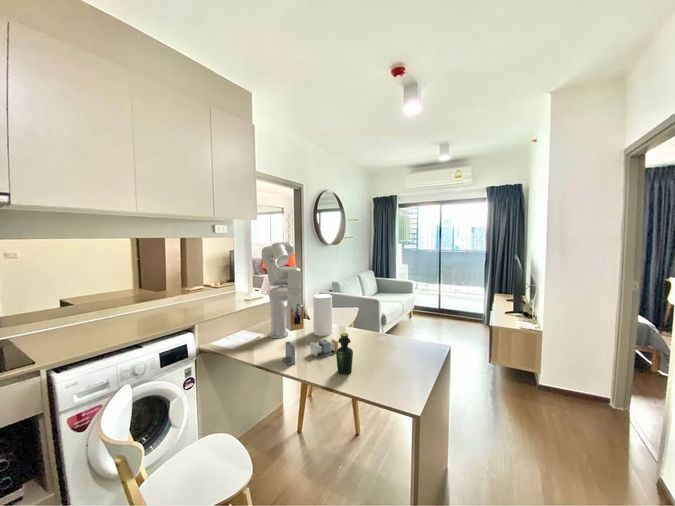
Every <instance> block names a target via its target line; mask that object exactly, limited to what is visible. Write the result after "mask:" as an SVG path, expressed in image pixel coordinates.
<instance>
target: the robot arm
mask: <svg viewBox="0 0 675 506" xmlns="http://www.w3.org/2000/svg"><path fill="white" fill-rule="evenodd" d="M294 249H295V248H294V245H293V244H292V243H291V242H289V241H288V242H287V241H286V242H284V241H283V242H282V241H281V242H280V241H279V242H274V243H272V244H271V245H269V246H268V245H267V246H265V247H262V249H261V259H262V261H263V264H264V266H265V268H266V273H267V274H266V275H267V278H268V283H269V285H270V286H271V287H273V288H270V290H269V291H268V297H269V298H268V299H269V305H270V330H271V331H270V332H269V333H268V337H269V338H271V339H282V338H283V339H284V338H287V337H288V335H289V331H287V328H286V306H290V307H292V312H293V313H294V312H295V317H294V324H295V325H296V324H300V315H301V305H302V297H301V296H302V295H301V294H302V270H301V269H300V268H298V267H297V266H293V265H292V266H284V265H287V263H288V262H289V261H290V256H292V255H293V254H294ZM282 302H286V303H287V305H284V304H283V303H282ZM296 310H298V311H296ZM296 313H297V315H296Z"/></svg>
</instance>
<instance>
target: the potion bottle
mask: <svg viewBox="0 0 675 506" xmlns="http://www.w3.org/2000/svg"><path fill="white" fill-rule="evenodd" d="M337 342H338V344H340V345H341V347H338V349H337V351H335V354H336V355H335V357H336V365H337V372H338V373H339V374H340V375H345V376H346V375H350V373H352V371H353V370H352V368H353V359H354V358H353V357H354V351H353V349H352V348H351V347H348V346H349V344H350V343H351V339H350V338H349V333H347V332H342V333H340V338H338V341H337Z"/></svg>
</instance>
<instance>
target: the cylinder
mask: <svg viewBox="0 0 675 506" xmlns="http://www.w3.org/2000/svg"><path fill="white" fill-rule="evenodd" d="M312 299H313V300H312V301H313V302H312V305H313V306H312V307H313V308H312V309H313V312H312V315H313V318H312V319H313V334H314V335H315V336H319V337H326V336H330V335H332V334H333V296H332V295H331V294H330V293H329V294H328V293H319V294H314V295H313V296H312Z"/></svg>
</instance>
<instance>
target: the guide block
mask: <svg viewBox="0 0 675 506" xmlns="http://www.w3.org/2000/svg"><path fill="white" fill-rule="evenodd" d="M330 342H331V341H328V340H327V339H322V340H321V339H320V340H318V344H321V345H323V352H322V353H319V354H320V355H321V356H323V357H324V358H326V357H329V356H333V352H332V350H330ZM318 344H317V345H318Z"/></svg>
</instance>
